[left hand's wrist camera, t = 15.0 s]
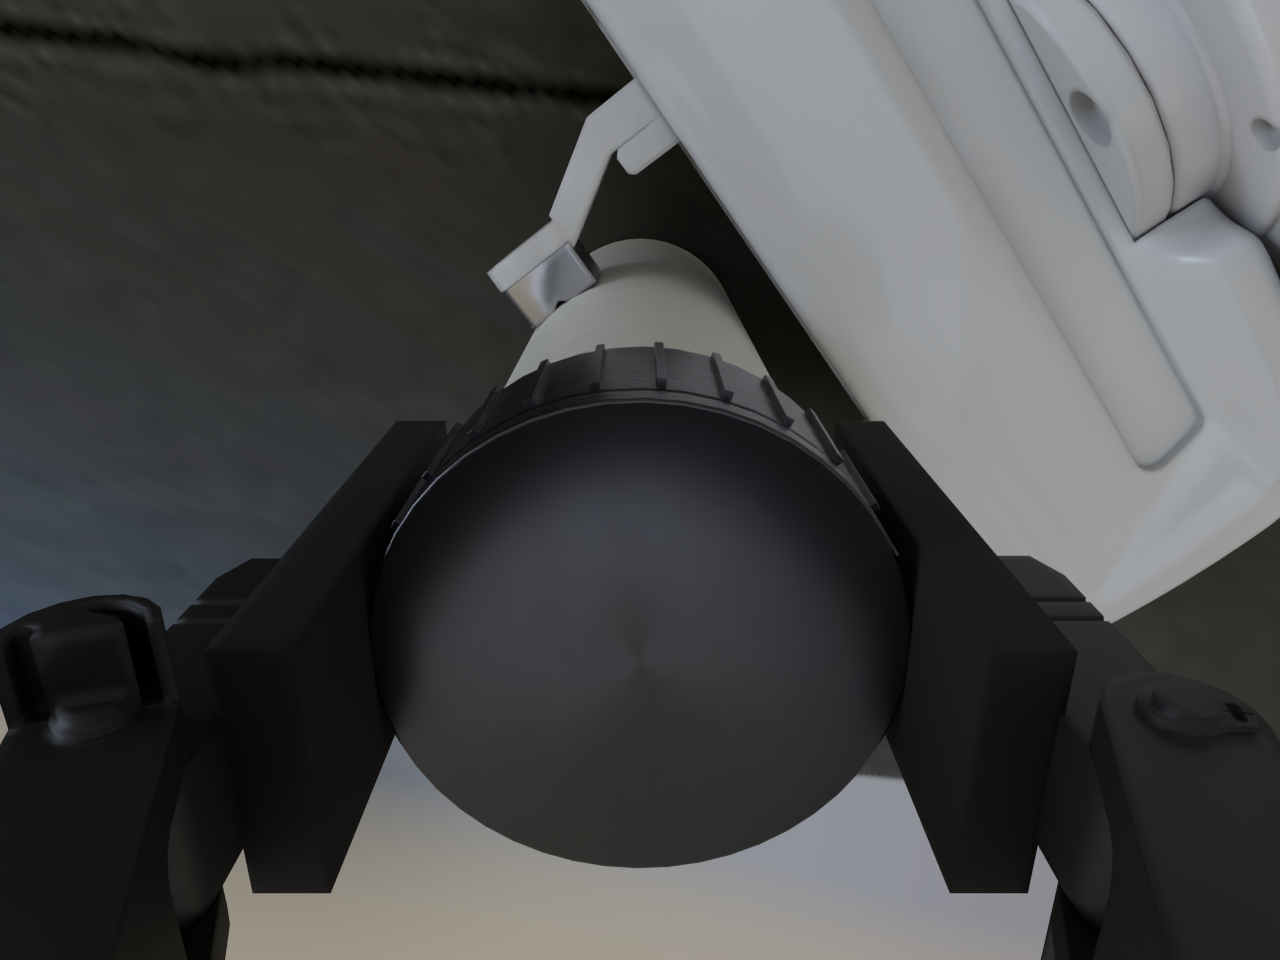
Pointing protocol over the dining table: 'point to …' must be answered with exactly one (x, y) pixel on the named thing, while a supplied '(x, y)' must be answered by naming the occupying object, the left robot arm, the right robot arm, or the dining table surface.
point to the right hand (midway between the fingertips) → (609, 421)
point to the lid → (640, 612)
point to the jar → (644, 310)
